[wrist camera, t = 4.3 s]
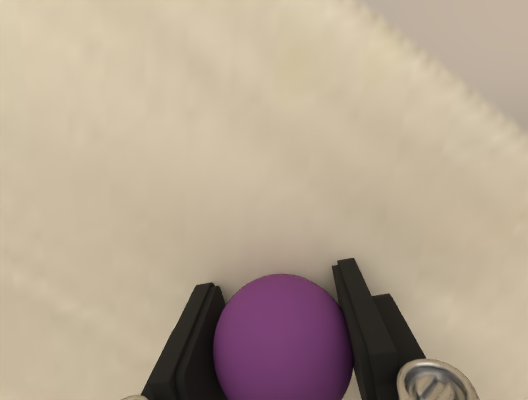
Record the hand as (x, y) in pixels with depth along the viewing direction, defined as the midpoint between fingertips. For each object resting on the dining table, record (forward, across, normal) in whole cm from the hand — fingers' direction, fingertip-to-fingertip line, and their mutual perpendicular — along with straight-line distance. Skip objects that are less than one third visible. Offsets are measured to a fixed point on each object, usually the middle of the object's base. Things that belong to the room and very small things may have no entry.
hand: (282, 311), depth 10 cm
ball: (-2, 0, 0) cm, 2 cm away
